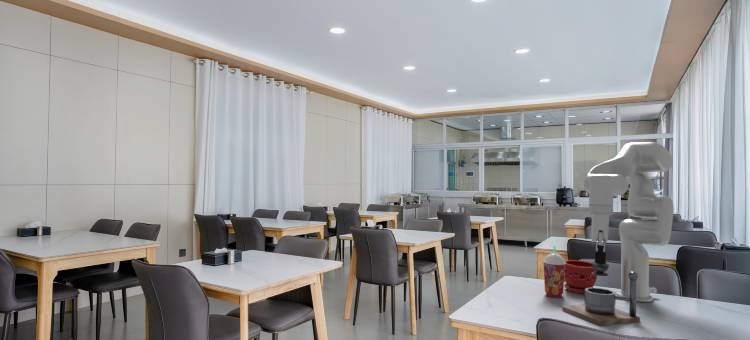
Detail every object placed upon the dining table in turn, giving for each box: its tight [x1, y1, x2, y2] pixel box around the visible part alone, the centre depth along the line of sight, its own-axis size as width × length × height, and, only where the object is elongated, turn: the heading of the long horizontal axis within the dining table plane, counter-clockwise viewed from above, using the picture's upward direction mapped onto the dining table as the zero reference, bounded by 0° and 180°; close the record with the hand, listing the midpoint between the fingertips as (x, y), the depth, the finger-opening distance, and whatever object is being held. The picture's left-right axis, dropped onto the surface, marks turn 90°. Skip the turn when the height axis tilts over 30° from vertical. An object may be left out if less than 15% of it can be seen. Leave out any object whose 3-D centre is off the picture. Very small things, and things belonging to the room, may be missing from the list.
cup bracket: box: [561, 271, 641, 327], centre depth 150 cm, size 17×17×16 cm
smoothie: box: [542, 245, 566, 299], centre depth 175 cm, size 8×8×20 cm
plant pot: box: [564, 259, 598, 295], centre depth 183 cm, size 13×13×12 cm
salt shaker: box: [590, 260, 610, 277], centre depth 151 cm, size 6×6×12 cm
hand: (600, 261), depth 151 cm, fingers closed on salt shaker, 4 cm apart
